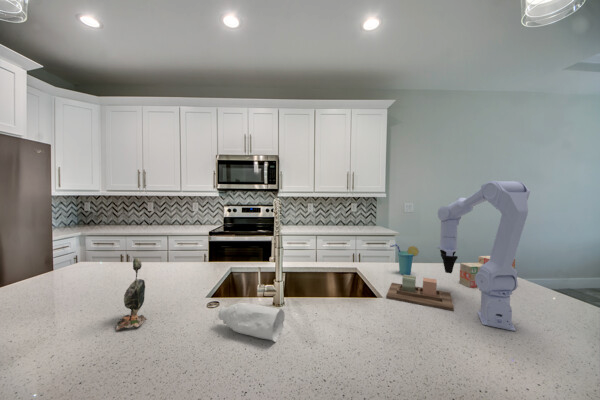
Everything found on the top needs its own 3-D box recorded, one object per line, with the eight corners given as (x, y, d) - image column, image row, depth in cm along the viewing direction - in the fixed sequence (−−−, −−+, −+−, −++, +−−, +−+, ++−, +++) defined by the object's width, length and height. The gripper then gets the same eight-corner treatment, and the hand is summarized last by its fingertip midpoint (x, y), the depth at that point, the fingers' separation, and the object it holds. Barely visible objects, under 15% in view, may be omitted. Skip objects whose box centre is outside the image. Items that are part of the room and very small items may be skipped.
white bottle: (230, 320, 78) (230, 294, 78) (285, 332, 71) (285, 304, 71) (212, 333, 71) (212, 305, 70) (272, 348, 64) (273, 317, 64)
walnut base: (453, 311, 86) (454, 290, 85) (386, 298, 96) (386, 279, 95) (450, 294, 100) (450, 277, 100) (391, 284, 110) (392, 269, 110)
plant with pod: (154, 312, 82) (154, 251, 82) (138, 331, 71) (137, 260, 70) (127, 314, 81) (126, 252, 80) (106, 333, 69) (105, 261, 69)
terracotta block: (436, 299, 93) (436, 283, 93) (422, 296, 95) (423, 280, 95) (436, 294, 97) (436, 279, 97) (423, 292, 99) (423, 277, 99)
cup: (393, 276, 121) (393, 245, 121) (386, 271, 129) (387, 242, 128) (421, 276, 122) (421, 245, 122) (412, 271, 130) (413, 242, 129)
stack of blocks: (470, 288, 107) (470, 259, 107) (459, 283, 114) (459, 256, 113) (514, 286, 110) (515, 258, 110) (501, 281, 116) (502, 255, 116)
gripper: (436, 233, 109) (436, 264, 109) (437, 238, 96) (436, 273, 96) (455, 234, 106) (455, 266, 106) (459, 240, 93) (458, 276, 93)
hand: (447, 270), depth 101 cm, fingers open, 7 cm apart
